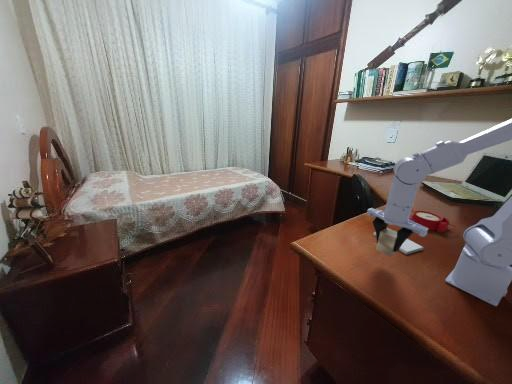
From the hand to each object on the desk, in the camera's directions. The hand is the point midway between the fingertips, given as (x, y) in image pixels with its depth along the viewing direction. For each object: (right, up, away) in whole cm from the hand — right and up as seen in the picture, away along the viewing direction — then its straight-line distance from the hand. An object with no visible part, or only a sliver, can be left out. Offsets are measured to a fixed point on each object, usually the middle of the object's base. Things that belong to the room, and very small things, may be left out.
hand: (387, 246), depth 60 cm
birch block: (0, -1, 0) cm, 2 cm away
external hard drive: (+11, -2, +13) cm, 17 cm away
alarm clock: (+33, +2, +25) cm, 41 cm away
